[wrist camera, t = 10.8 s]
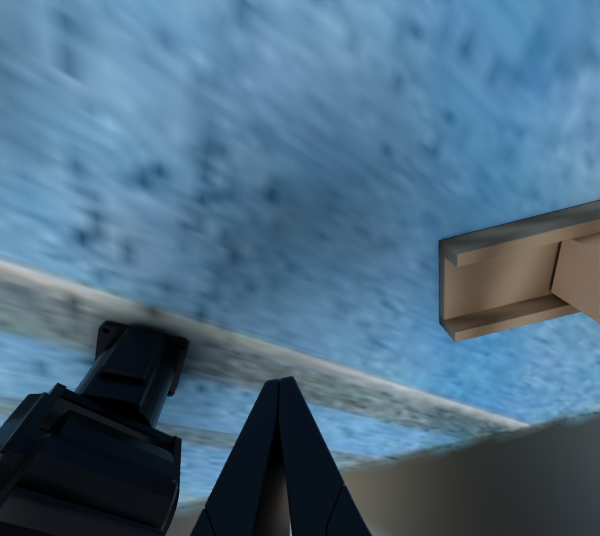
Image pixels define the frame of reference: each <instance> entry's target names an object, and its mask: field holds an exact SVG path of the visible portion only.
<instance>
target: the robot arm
mask: <svg viewBox="0 0 600 536" xmlns="http://www.w3.org/2000/svg"><path fill="white" fill-rule="evenodd" d="M106 328H108V329H109V330H108V329H106ZM180 344H182V345H184V346H182V345H180ZM188 346H189V342H188V341H187V340H186V339H183V338H178V337H174V336H169V335H165V334H160V333H156V332H151V331H147V330H142V329H138V328H133V327H129V326H124V325H120V324H115V323H111V322H104V323H103V324H102V325H101V326H100V327H99V331H98V339H97V348H96V356H95V363H94V364H93V366H92V367H91V368H90V370H89V371H88V373H87V374H86V376H85V377H84V378H83V380H82V381H81V383H80V384H79V386H78V387H77V389H76V390H75V391H74V392H73V391H71V390H68V389H66V386H64V385H62V384H59V383H57V384H56V385H55V386H54V387H53V388H52V389H51V390H50V391H49V392H48V393H46V392H45V393H42V394H29V395H28V396H27V397H26V398H25V399H24V400H23V401H22V402H21V404H20V405H19V406H18V407H17V408H16V410H15V411H14V412H13V413H12V414H11V415H10V417H9V418H8V419H7V420H6V421H5V422H4V424H3V425H2V426H1V427H0V536H165V534H166V532H167V530H168V528H169V526H170V524H171V521H172V519H173V516H174V513H175V510H176V507H177V503H178V498H179V487H180V464H181V441H182V440H181V439H180V438H178V437H176V436H173V437H172V436H170V435H168V434H166V433H164V432H161V431H159V430H157V429H155V427H156V425H157V422H158V419H159V416H160V413H161V411H162V408H163V405H164V402H165V400H166V397H167V396H168V397H170V396H173V395H174V393H175V390H176V387H177V384H178V380H179V377H180V373H181V370H182V367H183V363H184V360H185V356H186V353H187V350H188ZM205 508H206V509H203V510H202V512H201V514H200V516H199V518H198V520H197V522H196V524H195V526H194V528H193V530H192V532H191V534H190V536H289V535H290V534H289V533H290V532H289V531H290V521H291V529H292V536H372V535H371V533H370V531H369V529H368V528H367V526H366V524H365V523H364V521H363V518H362V516H361V514H360V513H359V511H358V509H357V507H356V505H355V503H354V501H353V499H352V497H351V495H350V493H349V490H348V489H347V486H345V483H344V480H343V478H342V476H341V474H340V472H339V470H338V468H337V466H336V464H335V462H334V460H333V457H332V455H331V453H330V451H329V449H328V447H327V445H326V443H325V441H324V439H323V437H322V435H321V433H320V430H319V428H318V426H317V424H316V422H315V420H314V418H313V416H312V414H311V412H310V410H309V408H308V406H307V403H306V401H305V399H304V397H303V395H302V393H301V391H300V389H299V387H298V385H297V383H296V381H295V379H294V377H293V376H289V377H284V378H281V379H280V380H279V379H272V380H268V381H266V382H265V384H264V386H263V388H262V390H261V392H260V394H259V396H258V398H257V400H256V402H255V404H254V406H253V408H252V410H251V412H250V414H249V416H248V418H247V420H246V422H245V425H244V427H243V429H242V431H241V433H240V435H239V437H238V439H237V441H236V443H235V445H234V447H233V449H232V451H231V453H230V455H229V457H228V459H227V461H226V463H225V465H224V467H223V469H222V472H221V474H220V476H219V478H218V480H217V482H216V484H215V486H214V488H213V490H212V492H211V494H210V496H209V498H208V500H207V502H206V504H205Z"/></svg>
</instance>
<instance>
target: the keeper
mask: <svg viewBox="0 0 600 536" xmlns="http://www.w3.org/2000/svg"><path fill="white" fill-rule="evenodd" d="M551 292H552V293H553V294H555V295H556V296H558V297H559V298H561V299H562V300H564V301H566V302H567V303H569V304H570V305H572V306H573V307H575V308H576V309H578V310H580V311H581V312H583V313H584V314H586V315H587V316H589V317H591V318H592V319H594V320H595V321H597V322H598V323H600V232H597V233H593V234H589V235H585V236H581V237H577V238H572V239H568V240H564V241H562V244H561V248H560V253H559V258H558V262H557V267H556V271H555V276H554V280H553V285H552V290H551Z"/></svg>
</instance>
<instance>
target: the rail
mask: <svg viewBox="0 0 600 536" xmlns="http://www.w3.org/2000/svg"><path fill="white" fill-rule="evenodd" d="M597 232H600V200H598V201H594V202H590V203H586V204H582V205H578V206H574V207H570V208H566V209H562V210H558V211H554V212H551V213H547V214H543V215H539V216H535V217H531V218H527V219H523V220H519V221H515V222H511V223H507V224H503V225H499V226H495V227H491V228H487V229H483V230H479V231H475V232H471V233H467V234H463V235H459V236H455V237H451V238H447V239H443V240H439V323H440V324H441V325H442V327H443V328H444V329H445V330H446V332H447V333H448V334H449V335H450V337H451V338H452V339H453V340H454V342H457V341H461V340H466V339H470V338H474V337H478V336H482V335H486V334H490V333H495V332H499V331H503V330H507V329H511V328H515V327H520V326H524V325H528V324H532V323H536V322H540V321H544V320H549V319H553V318H557V317H561V316H565V315H569V314H574V313H578V312H581V311H580V310H578V309H576V308H575V307H573V306H572V305H570V304H569V303H567V302H566V301H564V300H562V299H561V298H559V297H558V296H556V295H555V294H553V293H552V292H551V290H552V285H553V280H554V276H555V271H556V267H557V262H558V258H559V253H560V248H561V244H562V241H564V240H568V239H572V238H577V237H581V236H585V235H589V234H593V233H597Z"/></svg>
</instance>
